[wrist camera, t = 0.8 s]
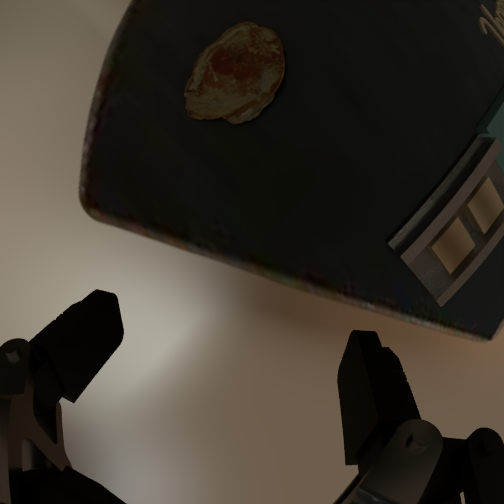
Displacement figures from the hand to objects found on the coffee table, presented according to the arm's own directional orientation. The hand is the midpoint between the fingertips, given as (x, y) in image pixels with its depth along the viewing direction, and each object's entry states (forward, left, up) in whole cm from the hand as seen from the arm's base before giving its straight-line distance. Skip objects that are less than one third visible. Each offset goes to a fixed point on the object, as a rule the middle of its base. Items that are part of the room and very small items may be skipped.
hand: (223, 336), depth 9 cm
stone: (-9, -13, -25) cm, 29 cm away
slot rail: (-16, +19, -24) cm, 34 cm away
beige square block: (-12, +19, -23) cm, 32 cm away
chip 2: (-19, +19, -23) cm, 35 cm away
